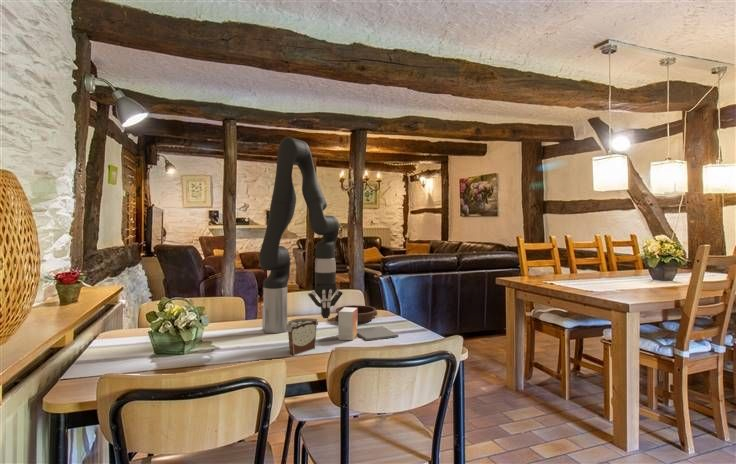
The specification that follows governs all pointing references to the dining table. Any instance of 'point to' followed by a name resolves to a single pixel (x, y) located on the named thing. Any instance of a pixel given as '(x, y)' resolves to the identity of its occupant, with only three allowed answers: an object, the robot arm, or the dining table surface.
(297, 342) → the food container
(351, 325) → the small box
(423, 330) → the dining table surface
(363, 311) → the dish
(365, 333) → the slate board
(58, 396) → the dining table surface
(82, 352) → the dining table surface
